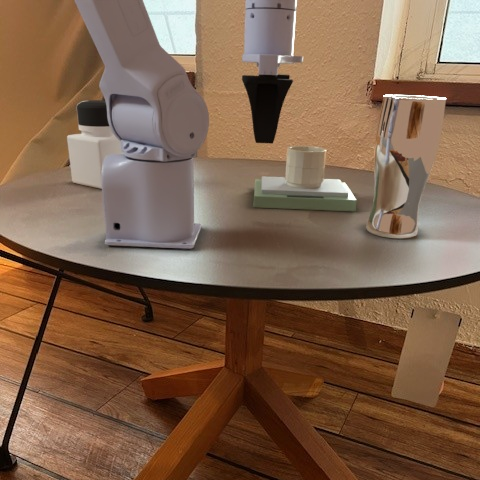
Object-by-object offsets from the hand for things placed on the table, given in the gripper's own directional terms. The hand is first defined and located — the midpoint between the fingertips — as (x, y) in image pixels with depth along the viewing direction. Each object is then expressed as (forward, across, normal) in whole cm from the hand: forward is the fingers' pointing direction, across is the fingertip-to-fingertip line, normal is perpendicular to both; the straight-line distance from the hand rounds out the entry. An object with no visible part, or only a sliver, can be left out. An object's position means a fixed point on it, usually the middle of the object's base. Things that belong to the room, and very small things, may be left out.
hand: (264, 138), depth 63 cm
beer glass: (+10, -6, -16) cm, 20 cm away
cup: (+7, +8, -6) cm, 12 cm away
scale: (+9, +8, -6) cm, 14 cm away
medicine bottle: (+10, +14, +25) cm, 30 cm away
